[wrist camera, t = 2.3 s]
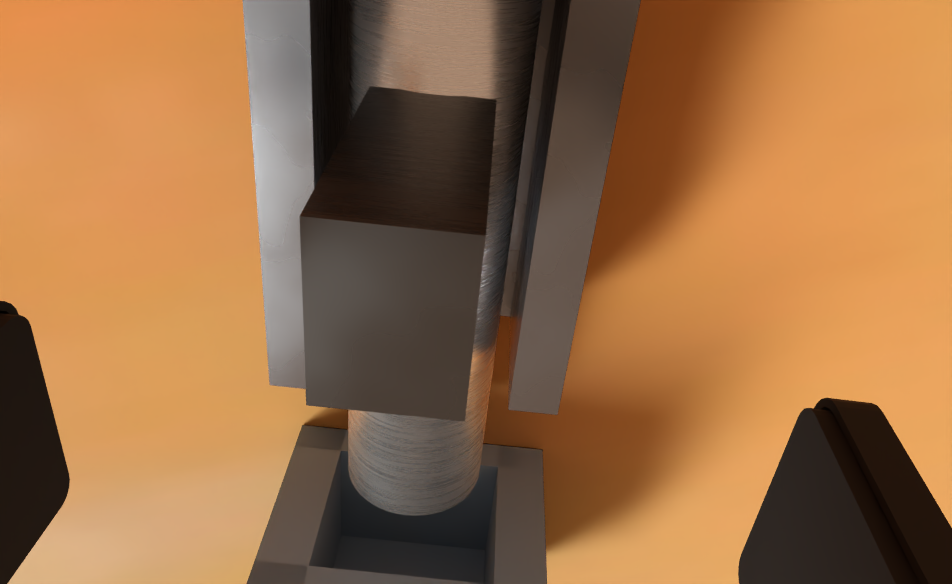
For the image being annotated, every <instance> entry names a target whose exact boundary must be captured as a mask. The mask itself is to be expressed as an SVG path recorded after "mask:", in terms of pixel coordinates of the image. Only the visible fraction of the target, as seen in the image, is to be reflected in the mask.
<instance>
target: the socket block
mask: <svg viewBox="0 0 952 584" xmlns="http://www.w3.org/2000/svg"><path fill="white" fill-rule="evenodd" d="M247 584H547V568H546V539H545V510H544V481H543V453H542V450H539V449H529V448H520V447H510V446H500V445H490V444H483V448H482V456H481V463H480V471H479V477H478V480H477V483H476V485H475V487H474V489H473V490H472V491H471V493H470V494H469V495H468V496H467V497H466V498H465V499H464V500H463V501H461V502H460V503H459V504H457V505H455V506H453V507H452V508H450V509H447V510H445V511H442V512H439V513H435V514H430V515H421V516H410V515H401V514H396V513H392V512H388V511H386V510H383V509H380V508H379V507H377V506H375V505H373V504H371V503H370V502H368V501H367V500H366V499H365V498H364V497H362V496H361V495H360V494H359V492H358V491H357V490H356V489H355V487H354V485H353V484H352V481H351V479H350V476H349V471H348V430H345V429H335V428H326V427H316V426H306V425H302V428H301V431H300V434H299V437H298V439H297V442H296V445H295V448H294V451H293V454H292V456H291V459H290V462H289V465H288V468H287V471H286V473H285V476H284V479H283V482H282V485H281V488H280V490H279V493H278V496H277V499H276V502H275V505H274V508H273V510H272V513H271V516H270V519H269V522H268V525H267V527H266V530H265V533H264V536H263V539H262V542H261V544H260V547H259V550H258V553H257V556H256V559H255V561H254V564H253V567H252V570H251V573H250V576H249V578H248V581H247Z"/></svg>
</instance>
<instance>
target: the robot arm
mask: <svg viewBox="0 0 952 584" xmlns="http://www.w3.org/2000/svg"><path fill="white" fill-rule="evenodd" d="M69 481H70V479H69V473H68V469H67V465H66V461H65V457H64V453H63V449H62V445H61V442H60V438H59V434H58V430H57V426H56V422H55V418H54V414H53V410H52V407H51V403H50V399H49V395H48V391H47V387H46V383H45V379H44V376H43V372H42V368H41V364H40V360H39V356H38V352H37V348H36V345H35V341H34V337H33V333H32V329H31V326H30V323H29V321H28V320H27V319H26V318H25V317H23V316H20V315H19V314H18V312H17V310H16V308H15V307H14V306H13V305H12V304H10V303H7V302H5V301H0V584H7V583H8V582H9V580H10V579H11V578H12V576H13V575H14V573H15V572H16V570H17V569H18V568H19V566H20V565H21V563H22V562H23V561H24V559H25V558H26V556H27V555H28V553H29V552H30V551H31V549H32V548H33V546H34V545H35V543H36V542H37V541H38V539H39V538H40V536H41V535H42V534H43V532H44V531H45V529H46V528H47V526H48V525H49V524H50V522H51V521H52V519H53V518H54V516H55V515H56V514H57V512H58V511H59V509H60V508H61V506H62V505H63V503H64V501H65V499H66V496H67V493H68V489H69ZM738 575H739V584H952V528H951V526H950V524H949V523H948V521H947V519H946V518H945V516H944V514H943V513H942V511H941V509H940V508H939V506H938V504H937V503H936V501H935V499H934V498H933V496H932V494H931V493H930V491H929V489H928V487H927V486H926V484H925V482H924V481H923V479H922V477H921V476H920V474H919V472H918V471H917V469H916V467H915V466H914V464H913V462H912V461H911V459H910V457H909V456H908V454H907V452H906V451H905V449H904V447H903V446H902V444H901V442H900V440H899V439H898V437H897V435H896V434H895V432H894V430H893V429H892V427H891V425H890V424H889V422H888V420H887V419H886V417H885V415H884V414H883V412H882V411H881V409H880V408H879V407H878V406H877V405H875V404H872V403H866V402H857V401H849V400H840V399H832V398H824V399H821V400H820V401H819V402H818V403H817V404H816V406H815V408H814V409H813V408H806V409H804V410H803V411H802V412H801V413H800V415H799V417H798V419H797V421H796V424H795V426H794V428H793V431H792V433H791V436H790V438H789V441H788V443H787V445H786V448H785V450H784V453H783V455H782V457H781V460H780V462H779V465H778V467H777V470H776V472H775V474H774V477H773V479H772V482H771V484H770V486H769V489H768V491H767V494H766V496H765V498H764V501H763V503H762V506H761V508H760V511H759V513H758V515H757V518H756V520H755V523H754V525H753V527H752V530H751V532H750V535H749V537H748V540H747V542H746V544H745V547H744V549H743V552H742V554H741V557H740V561H739V573H738Z"/></svg>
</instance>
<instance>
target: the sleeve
mask: <svg viewBox="0 0 952 584" xmlns="http://www.w3.org/2000/svg"><path fill="white" fill-rule="evenodd" d="M640 1H641V0H542V8H541V15H540V23H539V30H538V38H537V45H536V53H535V60H534V68H533V75H532V83H531V90H530V97H529V105H528V112H527V120H526V127H525V135H524V142H523V150H522V157H521V165H520V172H519V180H518V187H517V195H516V202H515V209H514V217H513V224H512V232H511V239H510V247H509V254H508V262H507V269H506V277H505V284H504V292H503V299H502V307H501V314H500V316H509V317H510V348H509V399H508V410H515V411H525V412H535V413H544V414H554V415H558V410H559V405H560V400H561V395H562V390H563V385H564V380H565V375H566V370H567V365H568V360H569V355H570V350H571V345H572V340H573V335H574V330H575V325H576V320H577V315H578V310H579V305H580V300H581V295H582V290H583V285H584V280H585V275H586V270H587V265H588V260H589V255H590V250H591V245H592V240H593V235H594V230H595V226H596V221H597V216H598V211H599V206H600V201H601V196H602V191H603V186H604V181H605V176H606V171H607V166H608V161H609V156H610V151H611V146H612V141H613V136H614V131H615V126H616V121H617V116H618V111H619V106H620V101H621V96H622V91H623V86H624V81H625V76H626V71H627V66H628V61H629V56H630V51H631V46H632V41H633V36H634V31H635V26H636V21H637V16H638V11H639V6H640ZM243 12H244V26H245V40H246V54H247V69H248V83H249V97H250V111H251V126H252V140H253V154H254V168H255V183H256V197H257V211H258V225H259V240H260V254H261V268H262V282H263V297H264V311H265V325H266V339H267V354H268V368H269V382H270V385H274V386H284V387H293V388H303V389H306V379H305V352H304V325H303V298H302V271H301V244H300V217H299V216H300V214H301V212H302V211H303V209H304V207H305V205H306V203H307V201H308V199H309V198H310V196H311V194H312V192H313V190H314V188H315V186H316V185H317V183H318V181H319V179H320V177H321V175H322V174H323V172H324V170H325V168H326V166H327V164H328V162H329V161H330V159H331V157H332V155H333V153H334V151H335V149H336V148H337V146H338V144H339V142H340V140H341V138H342V137H343V135H344V133H345V131H346V129H347V127H348V125H349V0H243Z"/></svg>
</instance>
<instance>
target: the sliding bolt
mask: <svg viewBox="0 0 952 584" xmlns="http://www.w3.org/2000/svg"><path fill="white" fill-rule="evenodd" d="M541 8H542V0H349V125H348V127H347V129H346V131H345V133H344V135H343V137H342V138H341V140H340V142H339V144H338V146H337V148H336V149H335V151H334V153H333V155H332V157H331V159H330V161H329V162H328V164H327V166H326V168H325V170H324V172H323V174H322V175H321V177H320V179H319V181H318V183H317V185H316V186H315V188H314V190H313V192H312V194H311V196H310V198H309V199H308V201H307V203H306V205H305V207H304V209H303V211H302V212H301V214H300V216H299V217H300V244H301V271H302V298H303V325H304V352H305V379H306V405H309V406H318V407H328V408H338V409H347V410H348V471H349V476H350V479H351V481H352V484H353V485H354V487H355V489H356V490H357V491H358V492H359V494H360V495H361V496H362V497H364V498H365V499H366V500H367V501H368V502H370V503H371V504H373V505H375V506H377V507H379V508H380V509H383V510H386V511H388V512H392V513H396V514H401V515H410V516H421V515H430V514H435V513H439V512H442V511H445V510H447V509H450V508H452V507H453V506H455V505H457V504H459V503H460V502H461V501H463V500H464V499H465V498H466V497H467V496H468V495H469V494H470V493H471V491H472V490H473V489H474V487H475V485H476V483H477V480H478V477H479V471H480V463H481V456H482V448H483V441H484V434H485V426H486V419H487V411H488V404H489V396H490V389H491V381H492V374H493V366H494V359H495V351H496V344H497V336H498V329H499V322H500V314H501V307H502V299H503V292H504V284H505V277H506V269H507V262H508V254H509V247H510V239H511V232H512V224H513V217H514V209H515V202H516V195H517V187H518V180H519V172H520V165H521V157H522V150H523V142H524V135H525V127H526V120H527V112H528V105H529V97H530V90H531V83H532V75H533V68H534V60H535V53H536V45H537V38H538V30H539V23H540V15H541Z"/></svg>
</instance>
